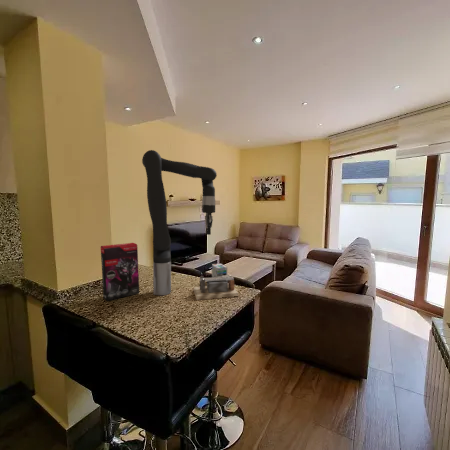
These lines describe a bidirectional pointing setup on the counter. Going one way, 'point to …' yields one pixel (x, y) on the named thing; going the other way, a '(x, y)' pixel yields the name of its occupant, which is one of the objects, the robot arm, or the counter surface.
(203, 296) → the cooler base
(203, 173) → the robot arm
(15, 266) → the counter surface
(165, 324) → the counter surface
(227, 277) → the strap
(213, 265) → the light bulb box
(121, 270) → the graphics card box
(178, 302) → the counter surface
